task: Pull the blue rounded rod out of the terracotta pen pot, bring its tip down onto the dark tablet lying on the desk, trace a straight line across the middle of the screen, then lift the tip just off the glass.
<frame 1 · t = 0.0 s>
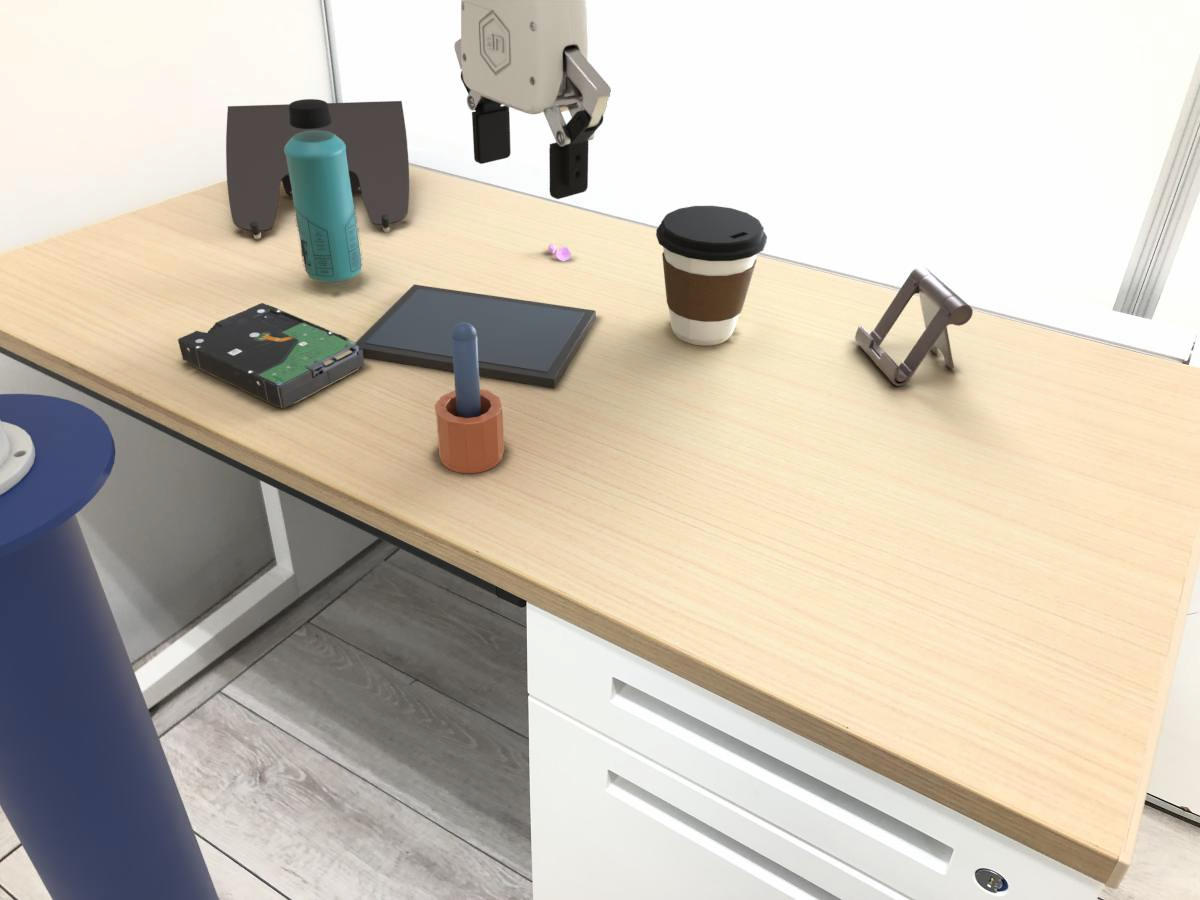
hand: (529, 176, 74), 22 cm above the table, tool pointing down, fingers open, 9 cm apart
pen pot: (471, 454, 82), on the table
disk drive: (274, 367, 93), on the table
pink pawn: (559, 258, 116), on the table
tablet stand: (906, 363, 97), on the table
beverage bottle: (335, 284, 109), on the table
blue rounded rod: (471, 450, 81), resting on pen pot
laptop tray: (325, 210, 127), on the table
tablet: (478, 336, 99), on the table
coffee cup: (701, 333, 101), on the table
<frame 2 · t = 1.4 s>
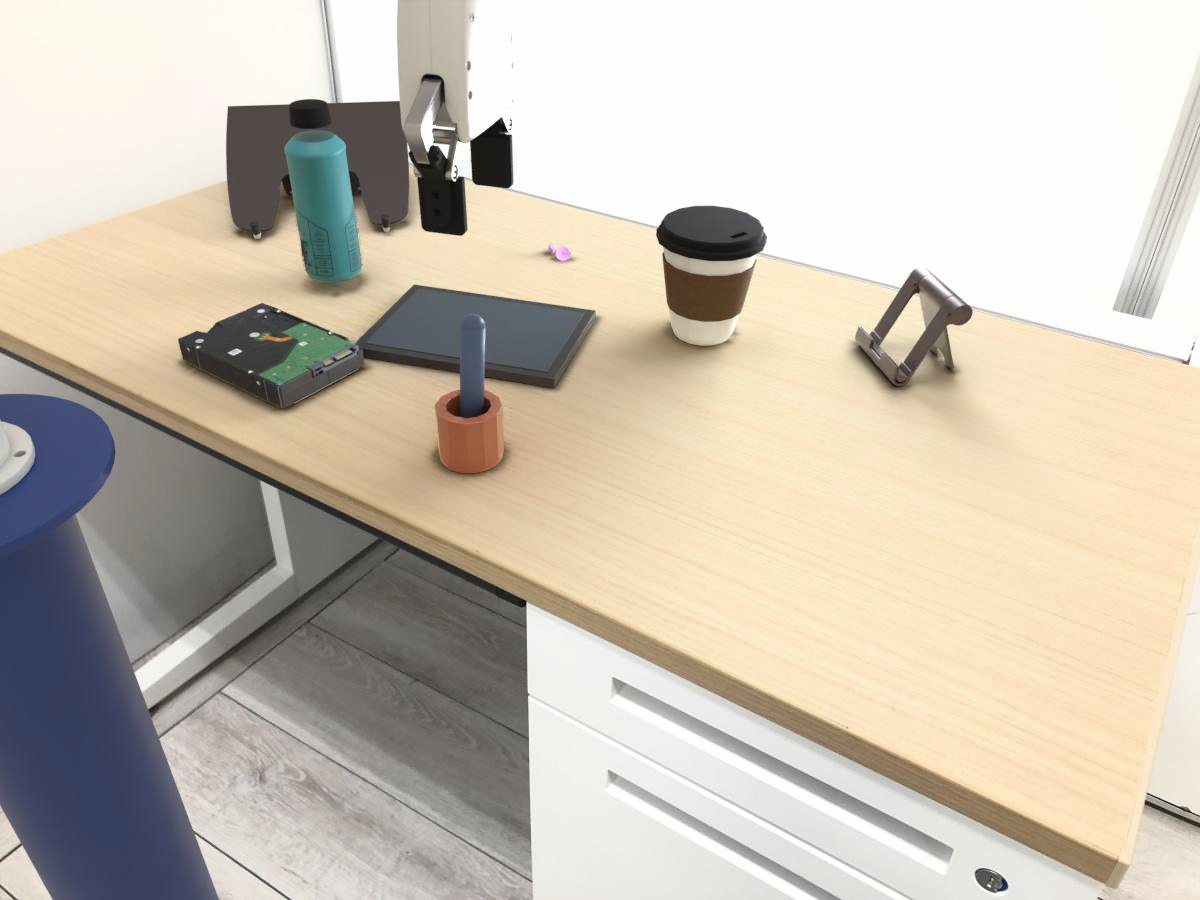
hand: (470, 207, 70), 22 cm above the table, tool pointing down, fingers open, 9 cm apart
blue rounded rod: (471, 449, 81), point 1 cm above the table, tilted 10°, touching pen pot
everything else where it was.
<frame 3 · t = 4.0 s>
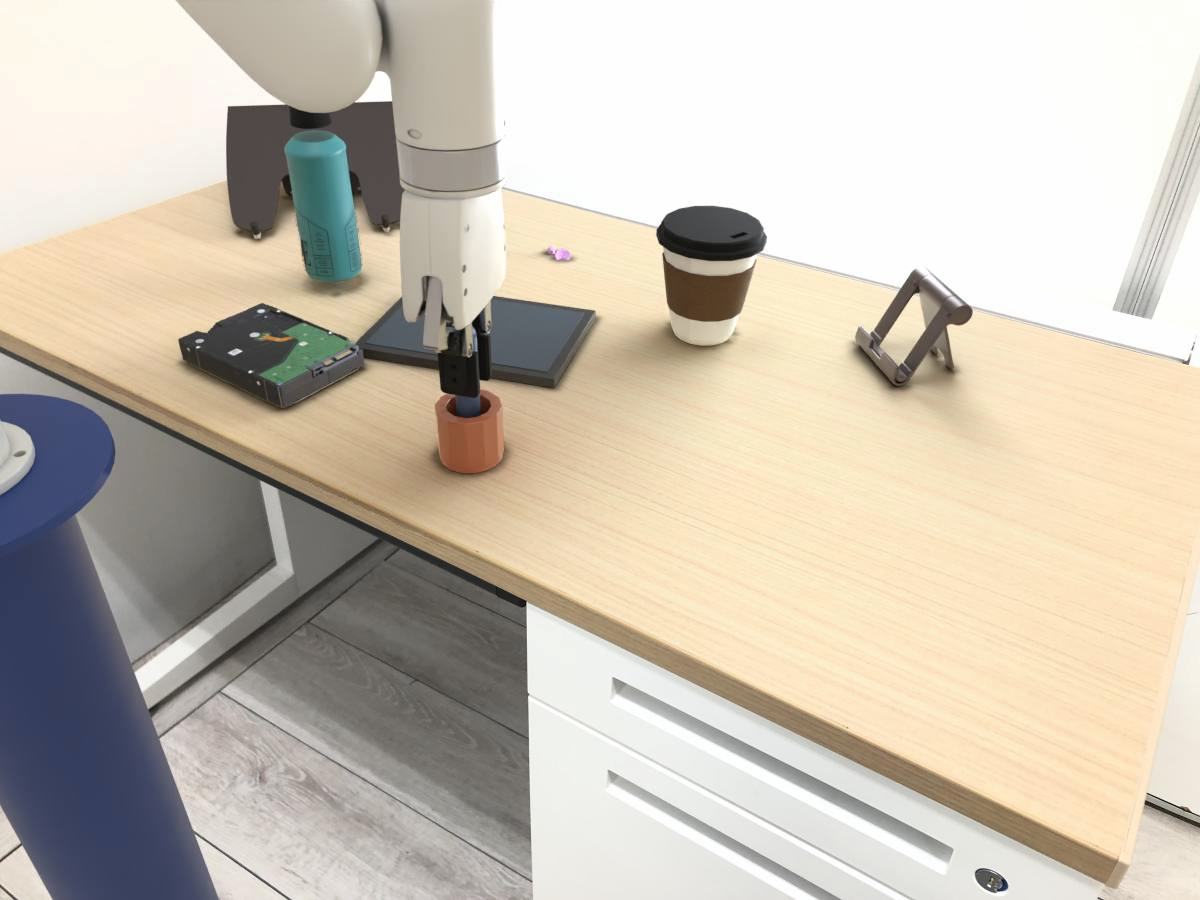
hand: (466, 384, 78), 7 cm above the table, tool pointing down, fingers closed on blue rounded rod, 2 cm apart
blue rounded rod: (470, 450, 81), point 1 cm above the table, touching gripper
everything else where it was.
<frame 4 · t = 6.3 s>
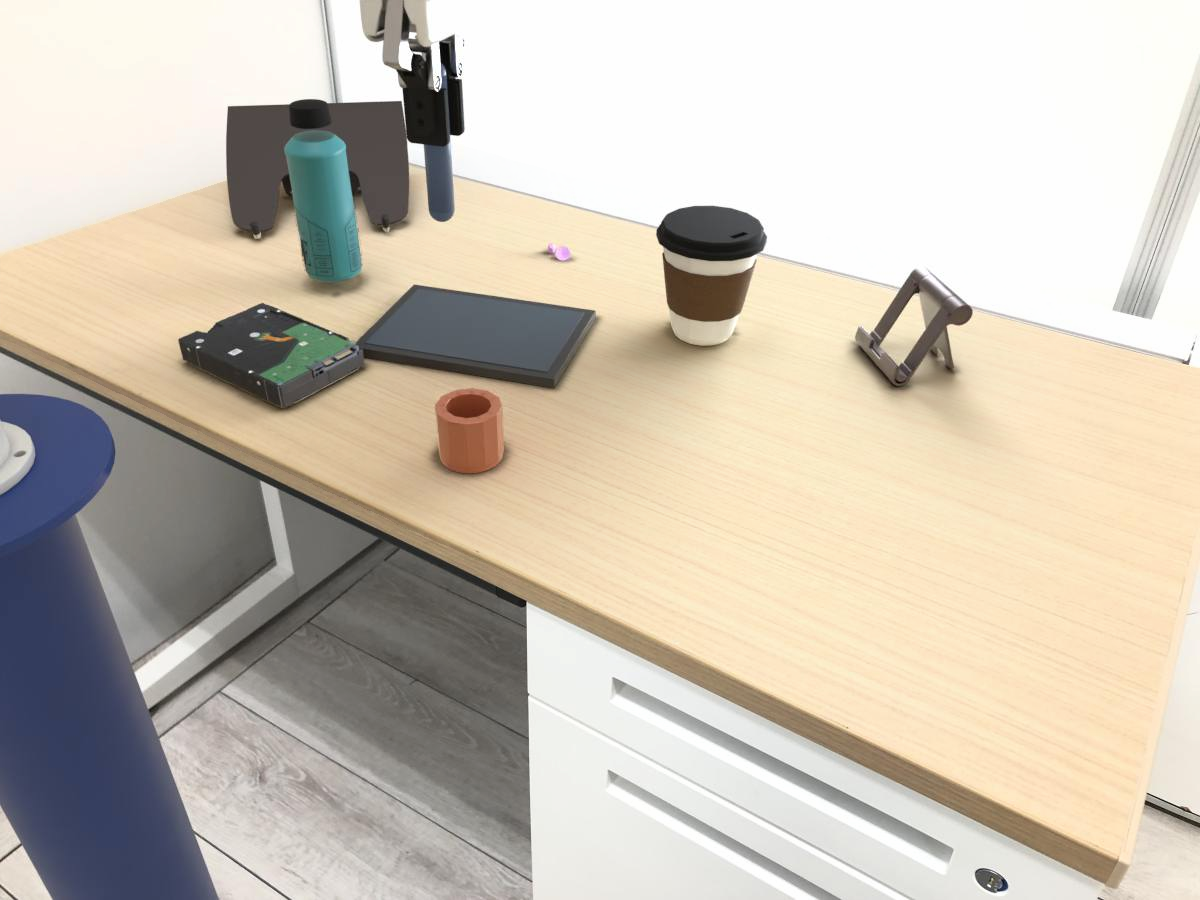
hand: (436, 136, 71), 26 cm above the table, tool pointing down, fingers closed on blue rounded rod
blue rounded rod: (442, 221, 75), point 19 cm above the table, touching gripper
everything else where it was.
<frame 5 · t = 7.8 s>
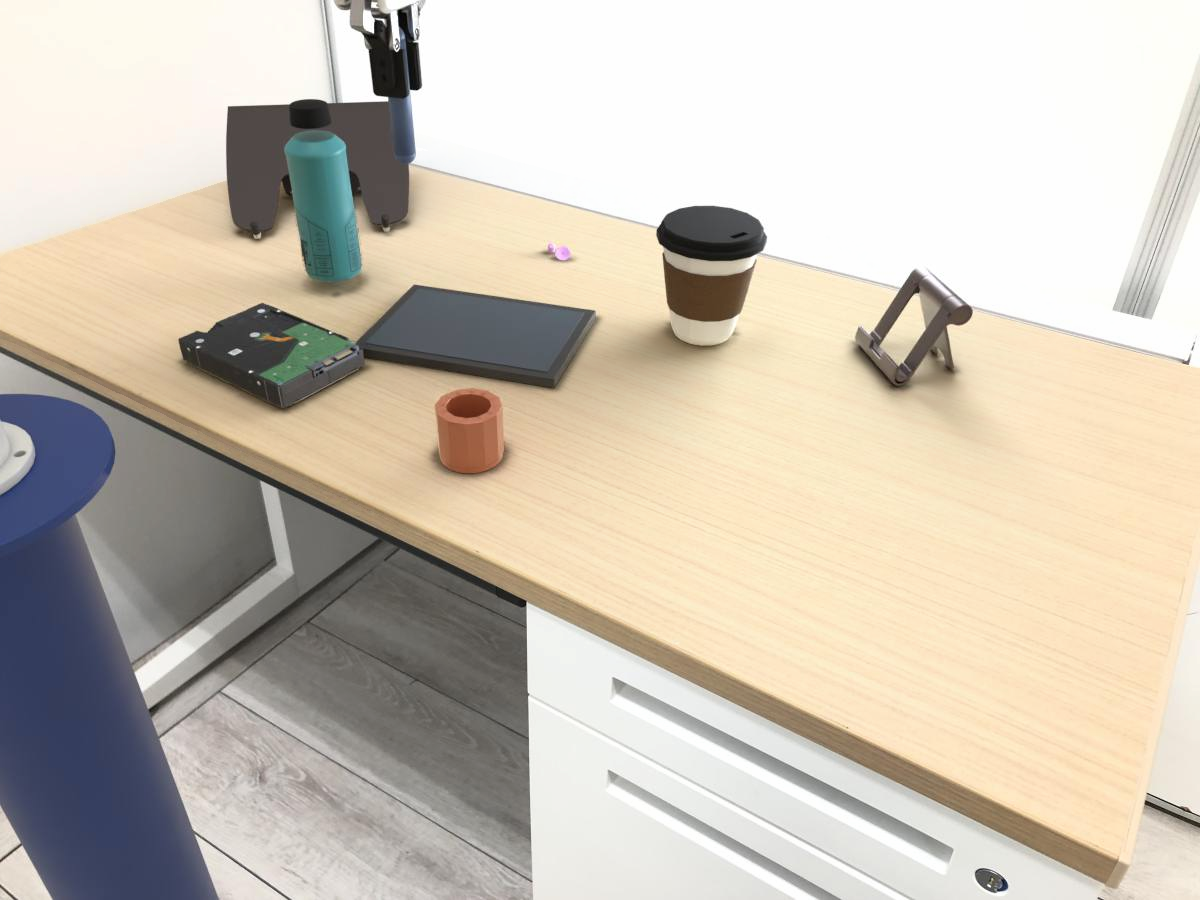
hand: (398, 90, 85), 24 cm above the table, tool pointing down, fingers closed on blue rounded rod
blue rounded rod: (405, 163, 89), point 18 cm above the table, touching gripper
everything else where it was.
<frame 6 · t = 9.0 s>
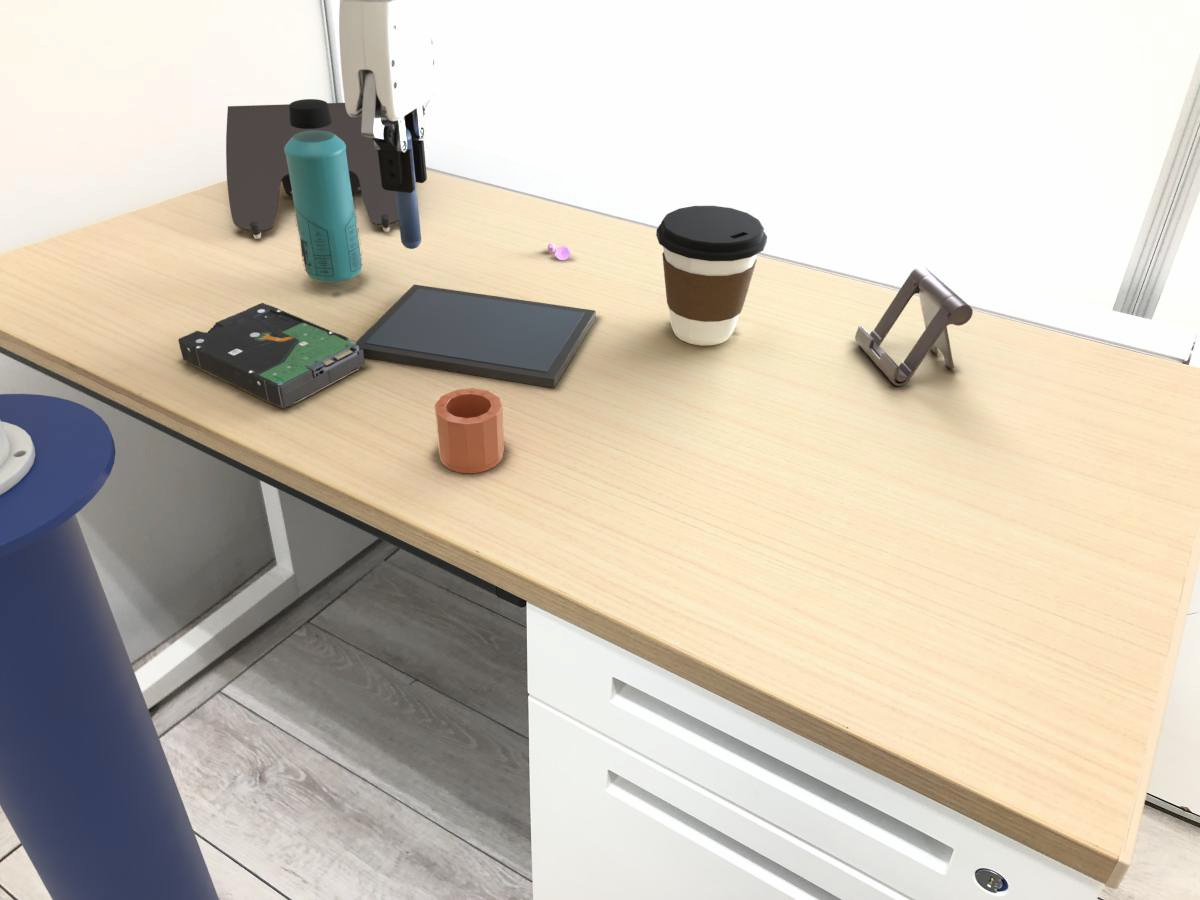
hand: (404, 184, 92), 15 cm above the table, tool pointing down, fingers closed on blue rounded rod
blue rounded rod: (412, 248, 96), point 9 cm above the table, touching gripper
everything else where it was.
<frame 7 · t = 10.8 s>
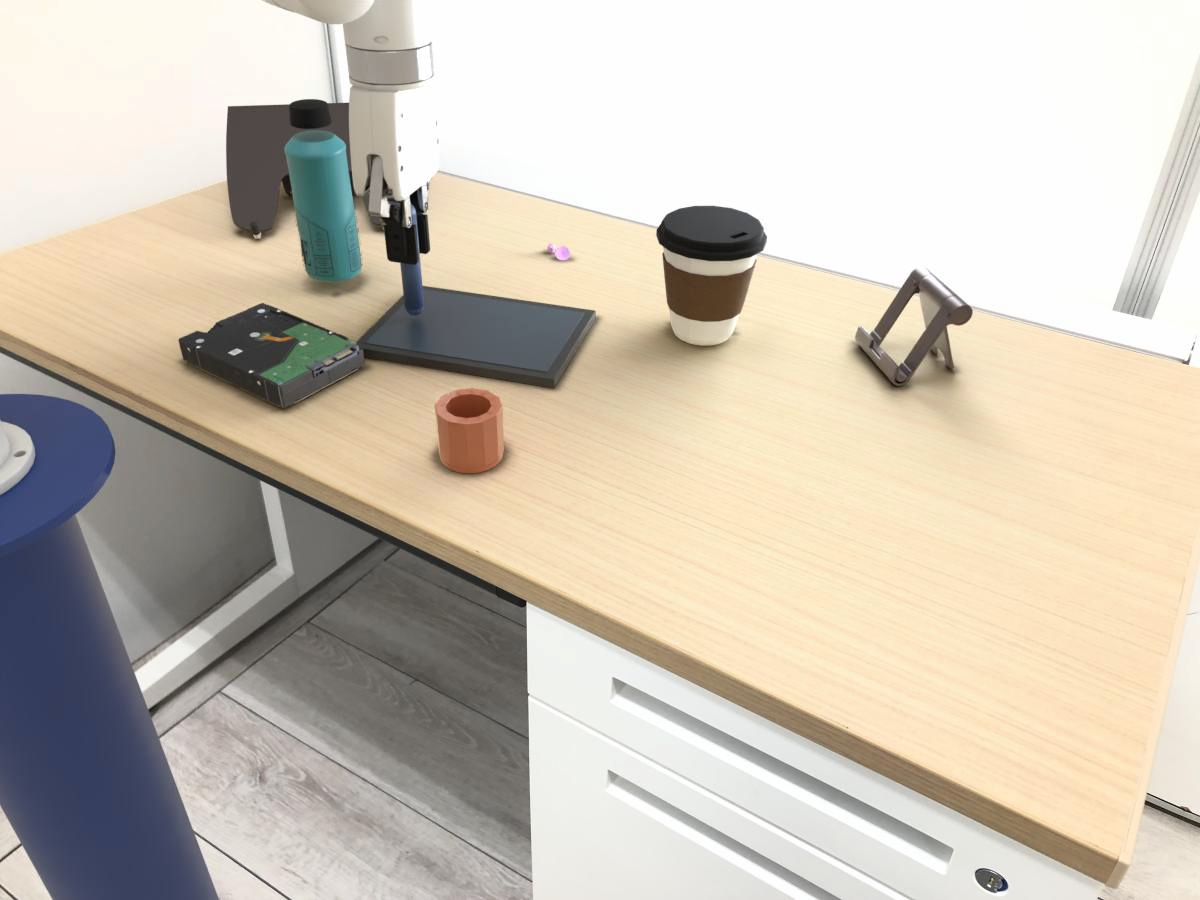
hand: (409, 255, 96), 8 cm above the table, tool pointing down, fingers closed on blue rounded rod, 2 cm apart
blue rounded rod: (415, 314, 100), point 1 cm above the table, touching gripper
everything else where it was.
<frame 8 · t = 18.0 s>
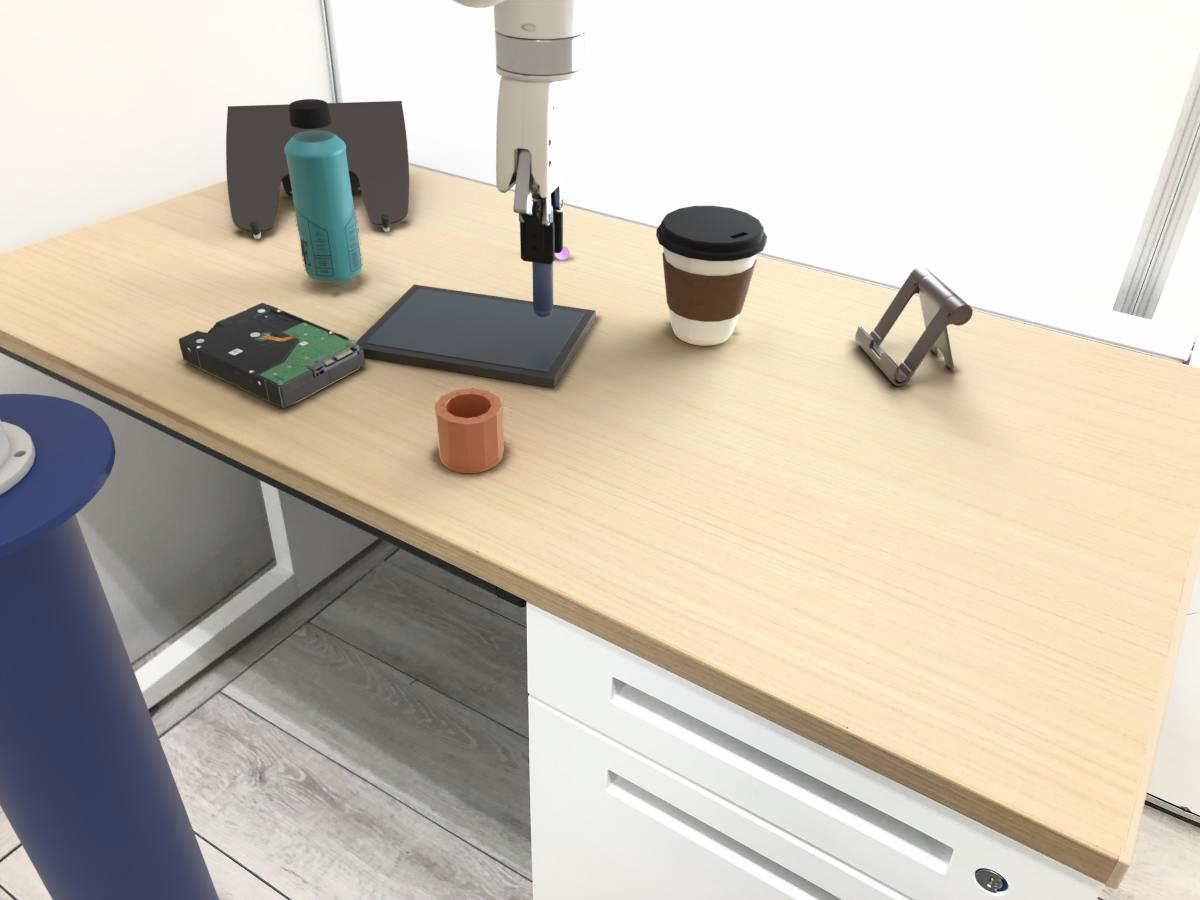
hand: (542, 254, 92), 10 cm above the table, tool pointing down, fingers closed on blue rounded rod, 2 cm apart
blue rounded rod: (543, 316, 96), point 3 cm above the table, touching gripper
everything else where it was.
at the end: the gripper is holding blue rounded rod; blue rounded rod 0.2 cm from the target spot on the tablet, point 3.5 cm above the tablet's base; blue rounded rod moved 20.2 cm from its start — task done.
